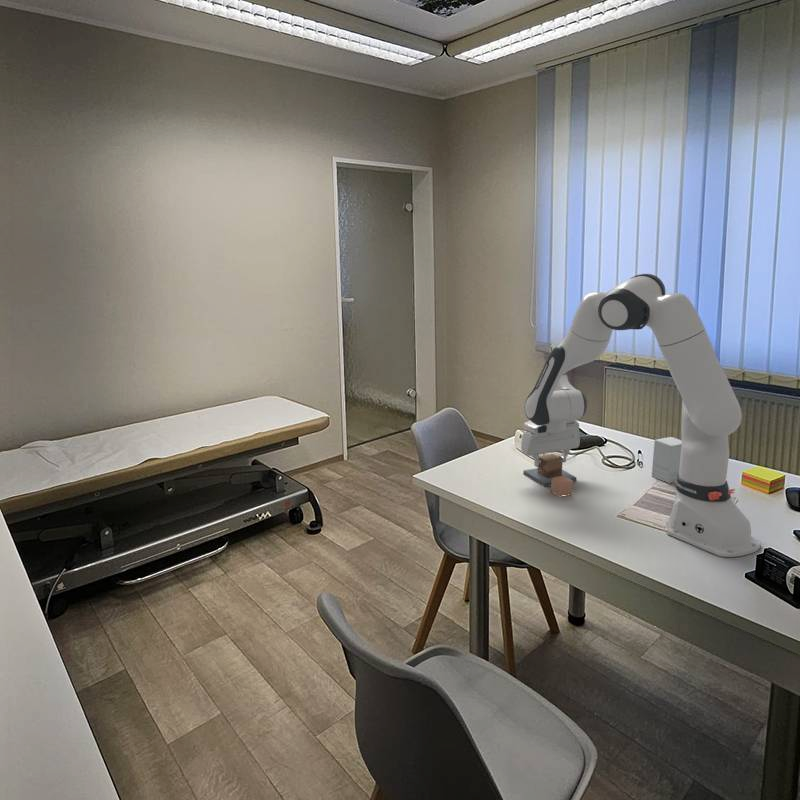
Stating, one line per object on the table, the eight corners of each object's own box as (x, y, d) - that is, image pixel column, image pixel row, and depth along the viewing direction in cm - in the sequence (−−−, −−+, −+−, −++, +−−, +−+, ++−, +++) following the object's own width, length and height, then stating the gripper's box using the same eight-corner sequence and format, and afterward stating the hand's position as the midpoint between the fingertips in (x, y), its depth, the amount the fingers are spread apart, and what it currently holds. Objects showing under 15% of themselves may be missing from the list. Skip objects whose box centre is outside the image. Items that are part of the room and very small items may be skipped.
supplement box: (686, 480, 194) (690, 442, 191) (667, 484, 191) (671, 445, 188) (668, 472, 201) (671, 436, 198) (650, 476, 198) (653, 439, 195)
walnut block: (561, 475, 197) (562, 459, 195) (547, 478, 195) (548, 461, 193) (551, 469, 202) (552, 454, 200) (537, 472, 200) (538, 456, 198)
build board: (576, 480, 195) (576, 477, 195) (544, 486, 191) (544, 483, 191) (553, 468, 206) (554, 465, 206) (523, 473, 202) (523, 470, 201)
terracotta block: (572, 494, 185) (573, 480, 184) (559, 497, 183) (560, 483, 182) (563, 489, 189) (563, 475, 188) (550, 491, 187) (551, 478, 186)
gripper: (573, 416, 200) (570, 456, 204) (519, 424, 193) (518, 465, 197) (585, 421, 195) (582, 462, 198) (530, 429, 187) (528, 472, 191)
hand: (550, 464), depth 197 cm, fingers open, 8 cm apart
